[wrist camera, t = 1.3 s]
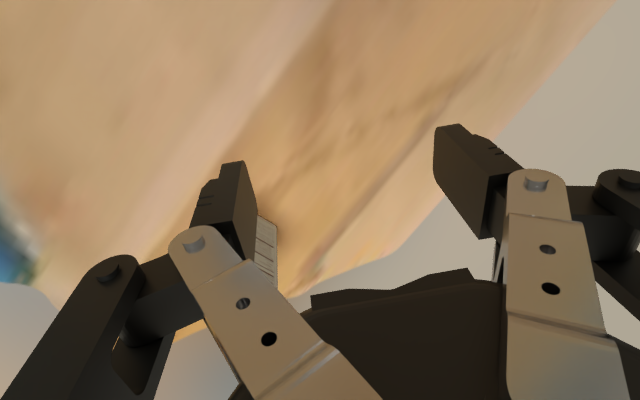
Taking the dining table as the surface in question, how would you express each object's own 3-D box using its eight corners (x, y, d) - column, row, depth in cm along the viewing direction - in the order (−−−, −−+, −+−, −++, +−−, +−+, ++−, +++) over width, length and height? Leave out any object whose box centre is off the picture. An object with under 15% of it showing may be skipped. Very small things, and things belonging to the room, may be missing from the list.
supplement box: (247, 257, 51) (240, 332, 41) (202, 233, 48) (182, 308, 38) (278, 225, 49) (279, 296, 38) (233, 198, 46) (221, 268, 35)
